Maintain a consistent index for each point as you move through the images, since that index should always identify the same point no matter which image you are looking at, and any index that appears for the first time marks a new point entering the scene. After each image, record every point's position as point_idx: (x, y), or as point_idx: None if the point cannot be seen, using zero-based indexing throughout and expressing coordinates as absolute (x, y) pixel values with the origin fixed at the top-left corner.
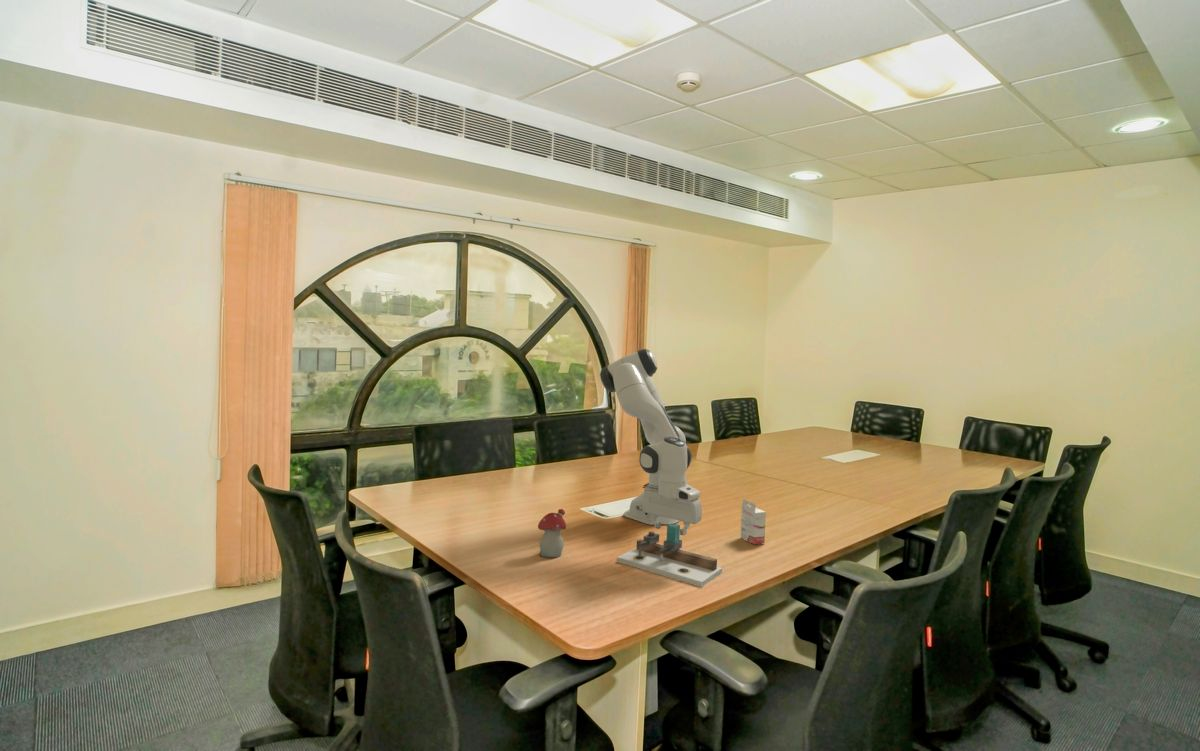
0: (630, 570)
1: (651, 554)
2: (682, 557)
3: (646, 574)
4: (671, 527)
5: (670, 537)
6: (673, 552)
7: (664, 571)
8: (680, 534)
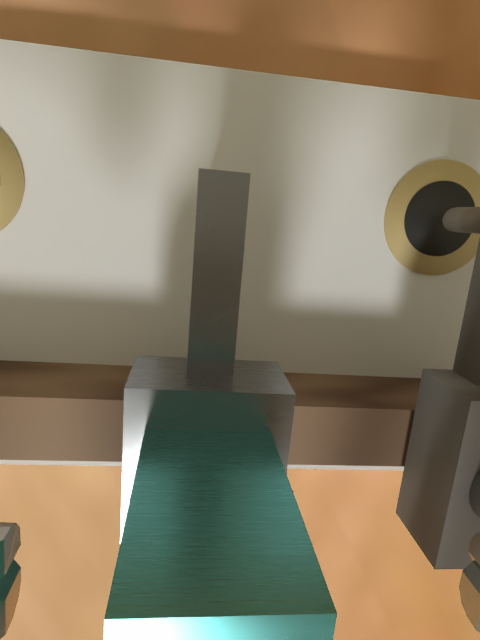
0: (419, 7)
1: (382, 360)
2: (72, 378)
3: (264, 2)
4: (217, 599)
5: (218, 464)
6: None
7: (111, 55)
8: (6, 523)
